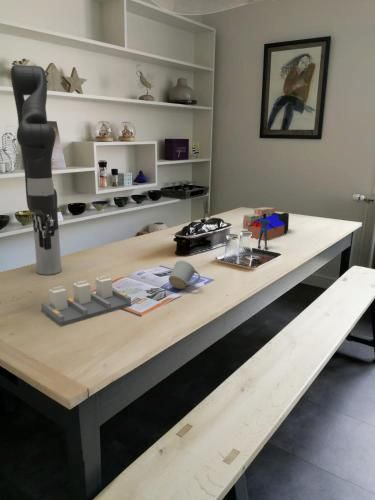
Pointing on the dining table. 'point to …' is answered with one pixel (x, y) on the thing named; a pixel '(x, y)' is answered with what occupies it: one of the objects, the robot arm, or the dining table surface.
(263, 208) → the stack of blocks
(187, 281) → the ceramic mug
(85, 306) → the switch bank
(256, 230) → the house
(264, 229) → the person figurine
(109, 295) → the white rectangular block
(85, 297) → the off-white rectangular block
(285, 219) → the pen holder
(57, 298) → the cream upright block
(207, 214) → the pliers
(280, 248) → the dining table surface
